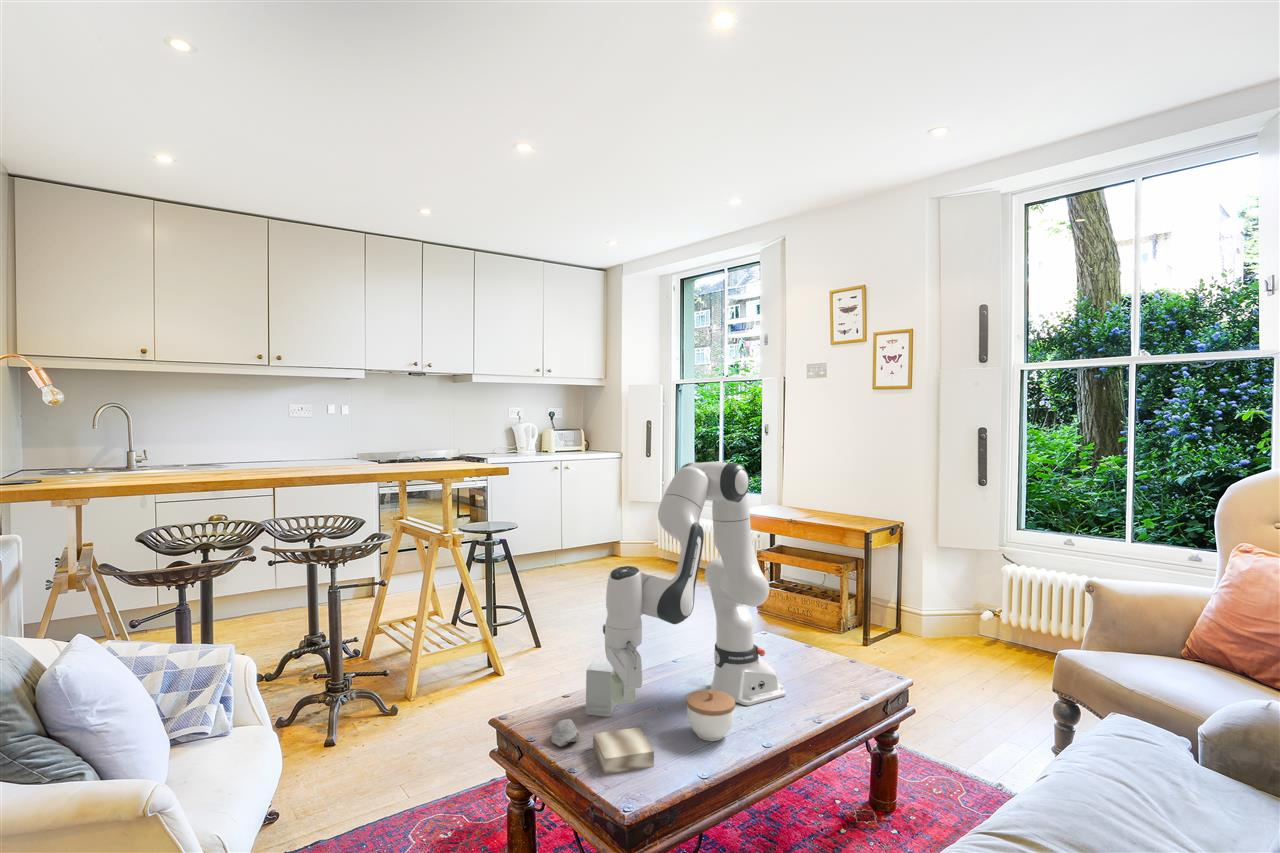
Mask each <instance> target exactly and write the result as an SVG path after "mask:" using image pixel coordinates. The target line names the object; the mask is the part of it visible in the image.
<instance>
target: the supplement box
mask: <svg viewBox="0 0 1280 853" xmlns="http://www.w3.org/2000/svg"><path fill="white" fill-rule="evenodd" d="M585 671H586V674H585V675H586V676H585V677H586V678H585V681H586V682H585V685H586V686H585V689H586V690H585V714H586V715H589V716H596V717H597V716H598V717H604V718H605V717H606V718H607V717H609V718H610V717H611V716H612V714H613V712H614V710H615V708H616V706H617V704H615V703H614V701H613V700H612V698H611V696H610V675H614V668H613V667H612V665H611V664H610V663H609V661H606V660H605V661H604V660H592V662H591V663H590V664H589V666H588V668H587V669H586V670H585Z"/></svg>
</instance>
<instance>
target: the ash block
mask: <svg viewBox="0 0 1280 853" xmlns="http://www.w3.org/2000/svg"><path fill="white" fill-rule="evenodd" d="M592 749H593V752H594V753H595V756H596V758H597V760H598V763H599V764H600V767H601V769H602V771H603V773H604V775H609V774H616V773H619V772H625V771H626V772H627V771H632V770H638V769H639V770H640V769H646V768H651V767H654V766H655V750H654V749H653V747H652V745H651V744H650V743H649V741H648V740H647V738H646V736H645V735H644V733H643V731H642V729H641V727H639V726H637V727H631V728H623V729H617V730H610V731H604V732H603V731H602V732H594V733H592Z"/></svg>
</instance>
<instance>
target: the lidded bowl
mask: <svg viewBox="0 0 1280 853" xmlns="http://www.w3.org/2000/svg"><path fill="white" fill-rule="evenodd" d="M735 707H736V702H735V700H734V698H733V697H732V696H731V695H729V694H727V693H725V692H722V691H717V690H710V689H700V690H696V691H692V692H691V693H689V694H688V695H687V697H686V711H687V712H686V713H687V720H688V723H689V726H690V728H691V730H692V731H693V732H694V733H695V735H696V736H697V737H698V738H699V739H701V740H704V741H706V742H716V741H721V740H722V739H723V738H724V737H725V736H726V735H727V734H728V733H729V731H730V730H731V728H732V727H733V723H734V720H735Z"/></svg>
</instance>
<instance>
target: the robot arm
mask: <svg viewBox="0 0 1280 853" xmlns="http://www.w3.org/2000/svg"><path fill="white" fill-rule="evenodd" d="M749 487H750V476H749V473H748V471H747V470H746V469H745V467H744V466H743V465H741V464H739V463H735V462H723V461H722V462H721V461H707V462H705V461H704V462H703V461H702V462H690V463H686V464H684V465H682V466H681V467H680V469H678V470H677V472H676V473H675V475H674V476H673V477H672V479H671V481H670V483H668V487H667V488H666V490H665V492H664V495H663V497H662V499H661V502H660V504H659V505H658V506H659V507H658V511H657V518H658V522H659V525H660V526H661V528H662V529H663V530H664V532H666V533H667V534H668V535H669V536H670V537H672V538H673V539H675V540H676V541H678V542H679V543H680V554H679V557H678V563H677V568H676V572H675V575H674V577H673V578H672V579H667V578H663V577H658V576H655V575H650V574H646V573H644V572H641V571H640V569H639V567H636V566H631V565H625V566H624V565H623V566H619V567H616V568H614V569H613V570H611V571H610V573H609V575H608V577H607V578H608V579H607V584H606V593H605V607H606V611H607V614H606V615H607V616H606V620H605V623H604V624H602V633H603V635H604V648H605V650H604V651H605V657H606V659H607V662H609V663H610V664H611V665H612V667H613V668H614V674H618V676H619V677H620V679H621V680H622V682H623V685H624V687H623V689H622V696H623V697H624V699H629V698H631V690H632V689H636V690H637V689H640V688H641V687H642V685H643V664H642V656H641V654H640V652H638V649H637V647H639V646H640V645H641V644H642V642H643V620H642V615H645V616H648V617H651V618H652V617H653V618H656V619H659V620H661V621H664V622H667V623H669V624H672V625H678V624H680V623H682V622H684V621H685V620H686V619H688V618H689V617H690V616H691V615H692V612H693V610H694V607H695V606H694V605H695V591H696V584H697V579H698V574H699V569H700V563H701V557H702V553H703V549H704V548H703V547H704V540H705V534H704V533H705V532H704V528H703V527H702V525H700V524H701V523H700V518H701V515H702V512H703V509H704V506H705V503H706V501H709V502H710V501H712V504H711V505H712V506H711V507H712V510H711V513H712V529H713V541H714V542H713V543H714V546H715V548H716V550H717V551H718V553H719V555H720V557H717V558H714V559H712V560H710V561H709V562H708V563H707V565H706V567H705V570H704V579H705V582H706V583H707V586H708V588H709V590H710V594H711V595H710V596H711V599H712V604H713V608H714V613H715V614H714V615H715V622H716V623H715V624H716V626H715V627H716V632H715V634H716V635H715V636H716V641H715V643H714V652H713V653H714V656H713V657H714V673H713V677H712V682H711V685H710V688H709V690H717V691H722V692H725V693H727V694H729V695H731V696H732V697H733V698H734V700H735V704H737V703H738V704H741V705H743V706H752V705H756V704H759V703H763V702H767V701H771V700H774V699H778V698H782V697H785V696H786V695H787V694H786V692H787V691H786V688H785V687H784V686H783V684H782V683H780V682H779V681H778V680H779V679H778V676H777V673H776V671H775V669H774V668H773V667H772V666H771V665H769V664H768V663H767V662H766V661H765V660H763V658H761V657H765V655H766V651H765V649H764V648H762V647H759V646H758V645H756V644H754V628H755V627H754V625H755V624H754V623H755V622H754V619H753V616H752V614H751V613H750V610H749V607H751V608H752V607H753V608H754V607H759V606H761V605H763V604H764V603H765V601H766V600H767V598H768V597H769V593H770V584H769V581H768V579H767V578H766V577H765V575H764V572H763V571H762V570H761V568H760V565H759V561H758V559H757V556H756V552H755V549H754V546H753V538H752V526H751V514H750V507H749V506H750V505H749V501H748V495H747V493H748V491H749V489H750V488H749Z"/></svg>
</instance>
